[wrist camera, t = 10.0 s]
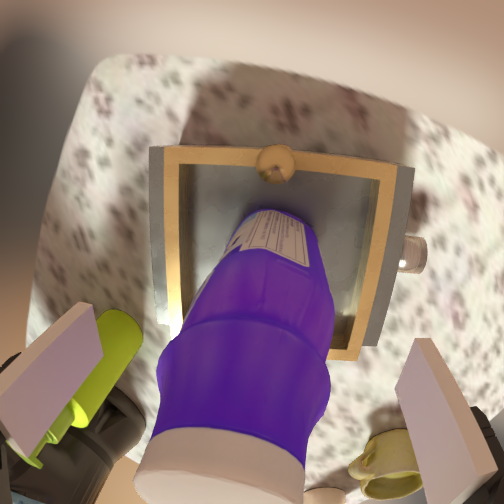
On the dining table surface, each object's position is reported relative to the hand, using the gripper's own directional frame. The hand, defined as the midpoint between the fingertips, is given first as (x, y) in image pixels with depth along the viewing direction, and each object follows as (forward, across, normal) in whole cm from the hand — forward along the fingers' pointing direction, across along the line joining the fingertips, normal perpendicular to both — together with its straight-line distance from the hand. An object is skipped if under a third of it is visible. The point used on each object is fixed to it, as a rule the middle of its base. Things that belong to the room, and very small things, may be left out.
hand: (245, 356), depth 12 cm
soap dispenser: (+17, -16, -13) cm, 27 cm away
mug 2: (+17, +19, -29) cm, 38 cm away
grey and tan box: (+17, +2, 0) cm, 17 cm away
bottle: (+11, 0, 0) cm, 11 cm away
